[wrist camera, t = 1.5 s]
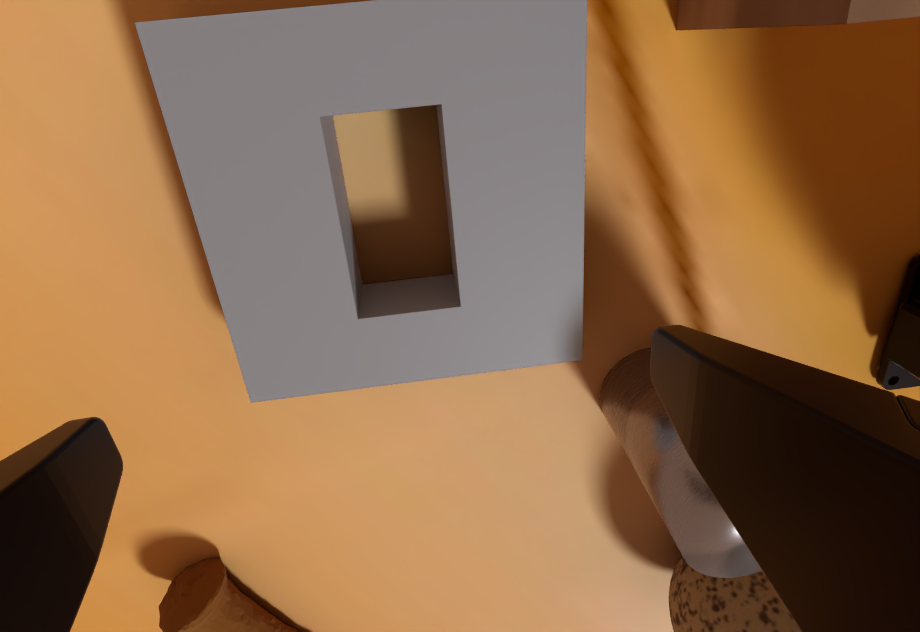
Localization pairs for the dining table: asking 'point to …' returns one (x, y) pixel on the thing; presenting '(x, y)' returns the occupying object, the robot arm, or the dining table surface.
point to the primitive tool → (212, 604)
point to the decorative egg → (725, 603)
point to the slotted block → (324, 194)
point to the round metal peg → (671, 472)
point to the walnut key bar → (788, 12)
